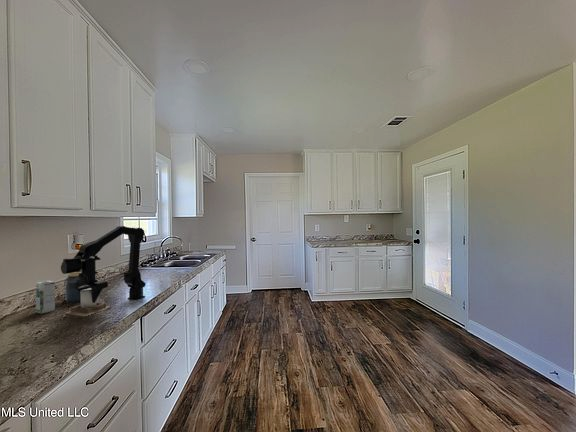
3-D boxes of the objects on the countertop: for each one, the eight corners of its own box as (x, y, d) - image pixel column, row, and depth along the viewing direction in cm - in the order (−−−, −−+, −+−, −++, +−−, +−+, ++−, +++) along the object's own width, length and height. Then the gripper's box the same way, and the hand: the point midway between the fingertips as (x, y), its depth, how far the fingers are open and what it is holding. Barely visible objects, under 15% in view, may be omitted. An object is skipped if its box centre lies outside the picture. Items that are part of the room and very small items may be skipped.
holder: (91, 305, 144) (91, 300, 144) (111, 307, 140) (110, 302, 140) (65, 313, 131) (65, 308, 131) (85, 316, 127) (85, 311, 127)
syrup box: (35, 312, 134) (35, 282, 134) (50, 308, 139) (50, 279, 140) (40, 314, 132) (40, 283, 132) (55, 310, 137) (55, 280, 137)
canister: (61, 303, 147) (61, 270, 148) (68, 297, 159) (68, 266, 159) (91, 300, 153) (91, 268, 153) (96, 294, 165) (95, 264, 165)
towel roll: (90, 303, 140) (90, 287, 140) (99, 304, 138) (99, 288, 138) (77, 307, 134) (77, 291, 134) (87, 309, 132) (86, 291, 132)
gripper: (57, 272, 131) (57, 305, 131) (86, 274, 125) (86, 309, 125) (81, 268, 141) (81, 298, 141) (108, 269, 136) (109, 301, 136)
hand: (88, 302), depth 136 cm, fingers closed on towel roll, 6 cm apart
